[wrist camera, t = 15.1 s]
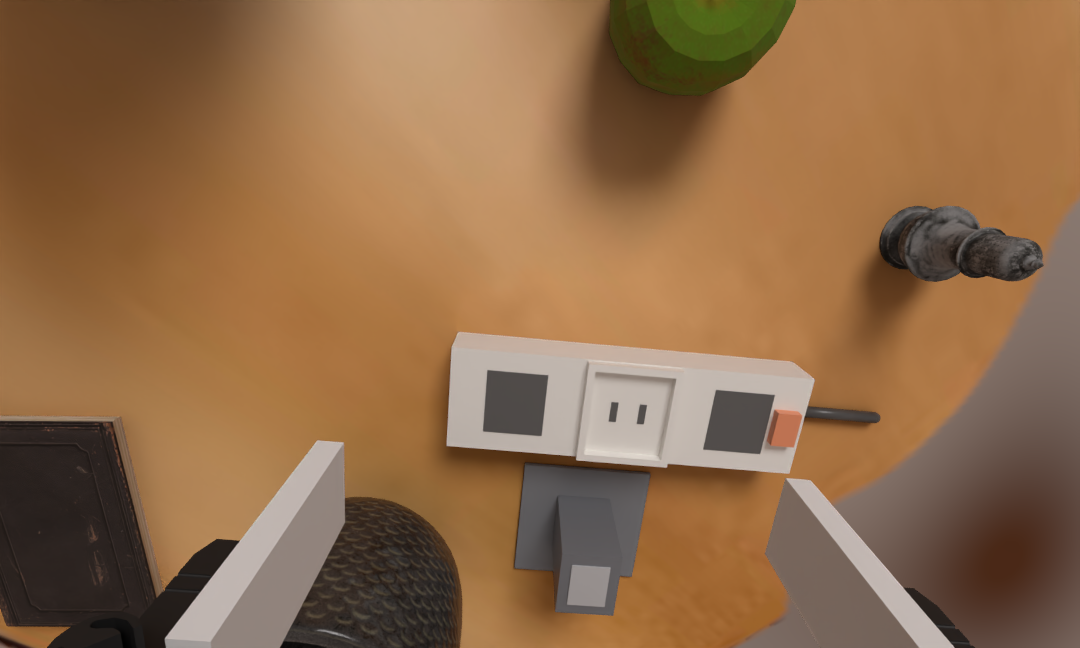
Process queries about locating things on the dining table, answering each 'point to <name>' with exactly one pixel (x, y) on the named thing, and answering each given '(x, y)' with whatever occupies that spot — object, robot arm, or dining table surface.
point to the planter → (382, 585)
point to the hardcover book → (71, 522)
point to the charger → (585, 556)
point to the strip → (629, 403)
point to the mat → (584, 482)
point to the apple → (694, 40)
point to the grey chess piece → (955, 246)
